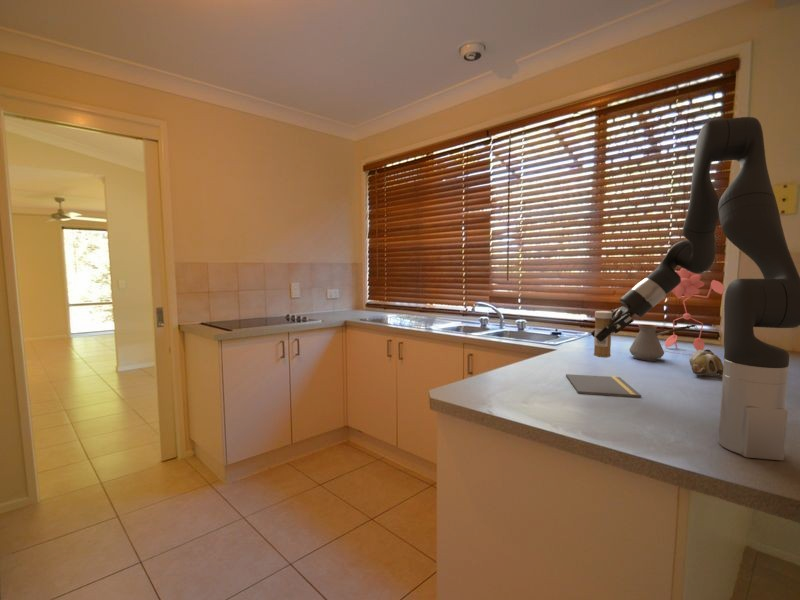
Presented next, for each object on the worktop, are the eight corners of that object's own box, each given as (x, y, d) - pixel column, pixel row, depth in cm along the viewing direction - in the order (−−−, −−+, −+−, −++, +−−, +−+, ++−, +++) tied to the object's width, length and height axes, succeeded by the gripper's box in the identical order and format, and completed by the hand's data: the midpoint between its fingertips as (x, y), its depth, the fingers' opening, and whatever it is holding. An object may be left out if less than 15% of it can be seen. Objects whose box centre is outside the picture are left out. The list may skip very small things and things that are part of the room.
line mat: (641, 397, 107) (641, 394, 107) (578, 393, 111) (578, 390, 111) (619, 379, 125) (619, 376, 125) (565, 376, 128) (566, 373, 128)
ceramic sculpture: (719, 345, 134) (738, 357, 120) (717, 369, 135) (736, 384, 121) (682, 343, 138) (697, 355, 124) (680, 367, 139) (695, 381, 125)
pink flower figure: (656, 344, 180) (661, 268, 177) (725, 355, 158) (731, 268, 155) (638, 348, 172) (642, 268, 169) (708, 359, 150) (714, 268, 147)
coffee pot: (624, 358, 153) (626, 319, 152) (635, 353, 161) (637, 317, 159) (690, 368, 137) (693, 326, 136) (699, 363, 144) (701, 323, 143)
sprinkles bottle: (613, 356, 116) (615, 311, 115) (605, 358, 114) (607, 312, 113) (598, 353, 120) (600, 310, 119) (590, 355, 118) (591, 311, 116)
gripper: (624, 286, 120) (580, 325, 124) (642, 290, 107) (592, 332, 110) (642, 304, 120) (598, 342, 123) (663, 309, 106) (612, 352, 110)
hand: (595, 337), depth 117 cm, fingers closed on sprinkles bottle, 4 cm apart
